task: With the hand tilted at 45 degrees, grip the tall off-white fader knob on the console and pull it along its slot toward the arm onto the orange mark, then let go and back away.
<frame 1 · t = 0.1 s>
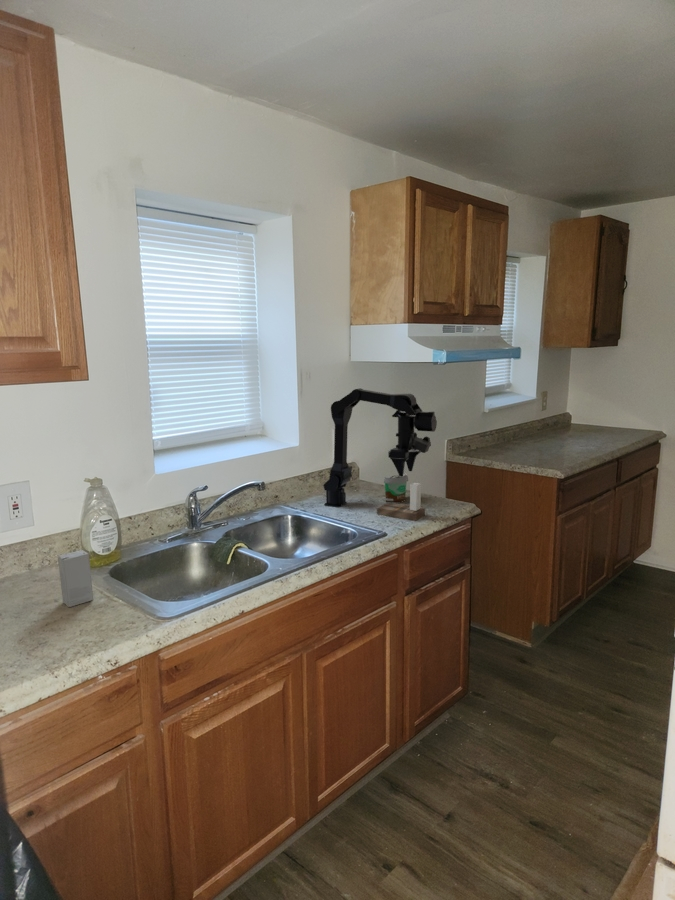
hand: (405, 473, 210), 15 cm above the counter, tool pointing down, fingers open, 9 cm apart
food container: (399, 501, 230), on the counter
fader: (415, 496, 207), point 7 cm above the counter, slide at 0.0 cm
console: (400, 514, 211), on the counter
skincare box: (78, 602, 143), on the counter
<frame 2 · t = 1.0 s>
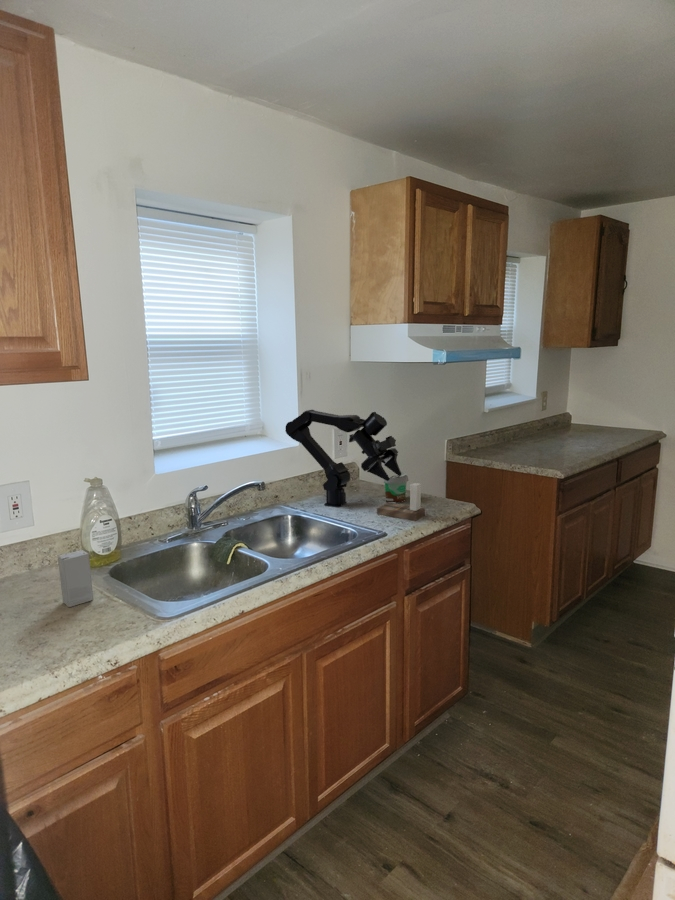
hand: (394, 477, 210), 13 cm above the counter, tool tilted 45°, fingers open, 9 cm apart
nothing on the counter moved.
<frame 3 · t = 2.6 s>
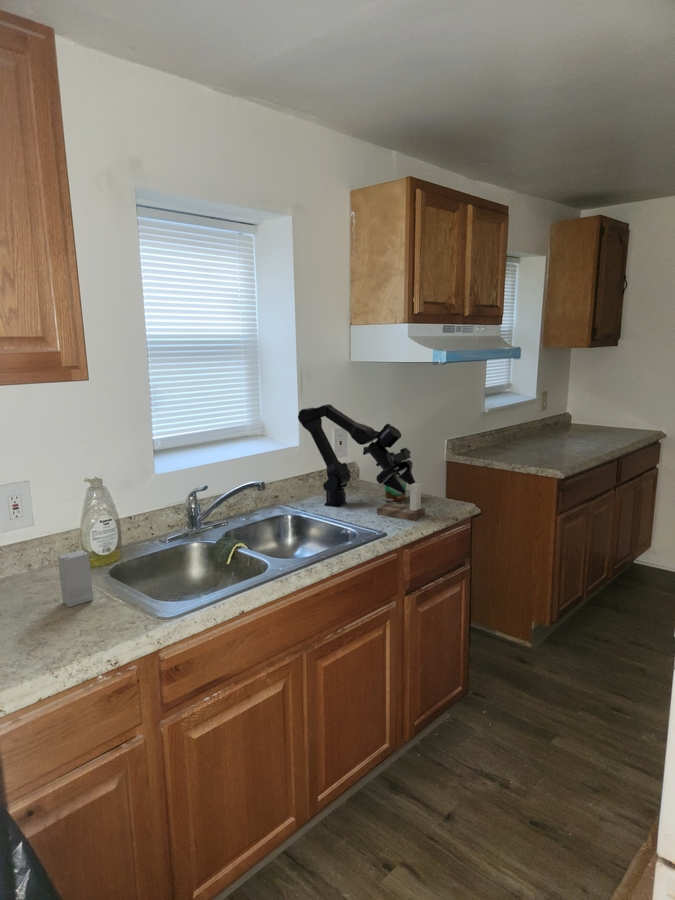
hand: (410, 489, 208), 10 cm above the counter, tool tilted 45°, fingers open, 9 cm apart
nothing on the counter moved.
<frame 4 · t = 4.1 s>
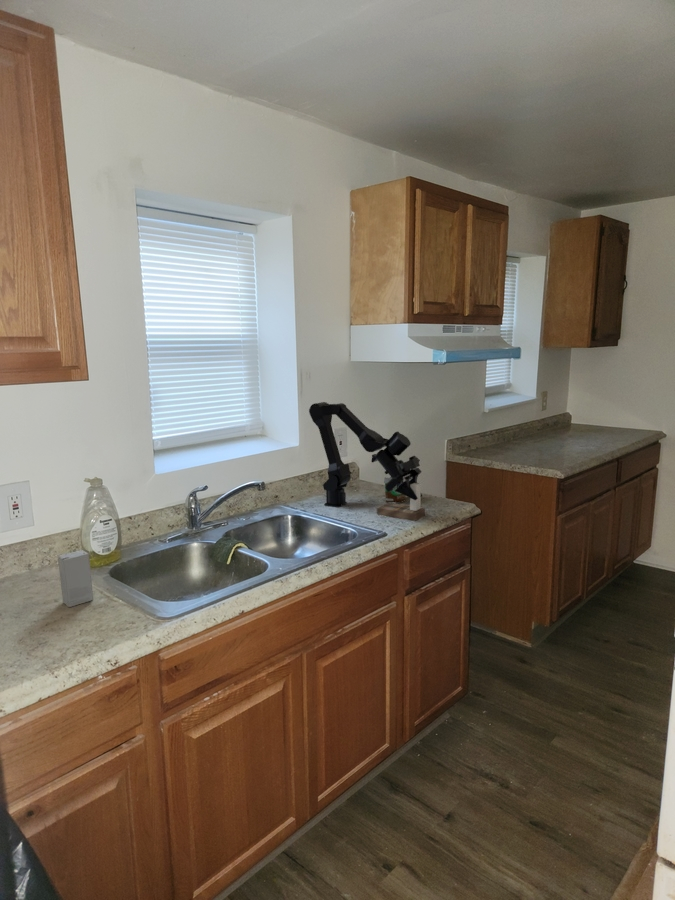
hand: (418, 498, 207), 7 cm above the counter, tool tilted 45°, fingers closed on fader, 3 cm apart
fader: (415, 496, 207), point 7 cm above the counter, slide at 0.0 cm, touching gripper
everything else where it was.
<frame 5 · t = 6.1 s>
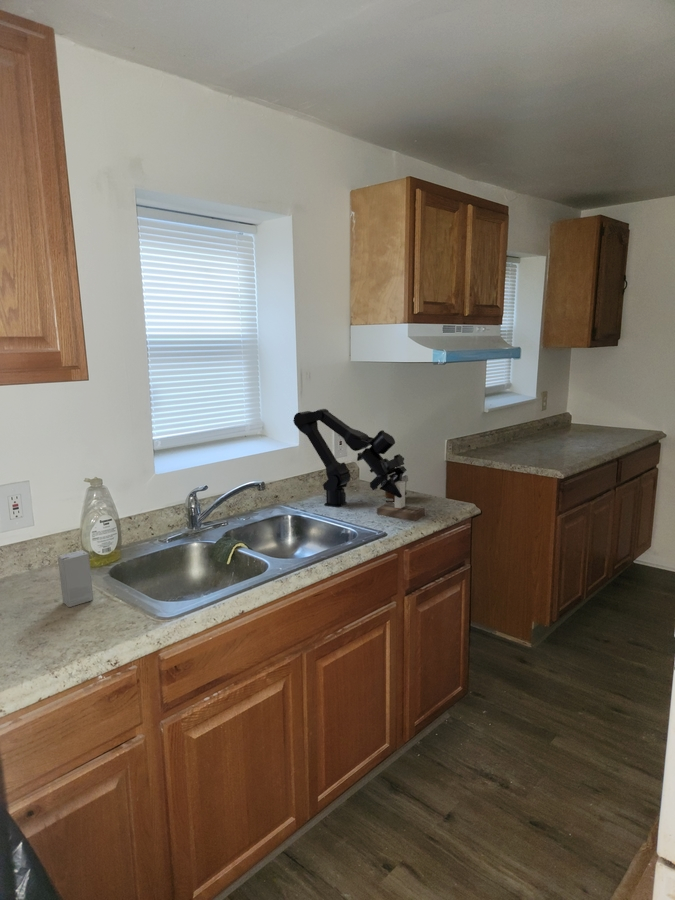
hand: (403, 496, 210), 7 cm above the counter, tool tilted 45°, fingers closed on fader, 3 cm apart
fader: (399, 494, 210), point 7 cm above the counter, slide at -5.9 cm, touching gripper
everything else where it was.
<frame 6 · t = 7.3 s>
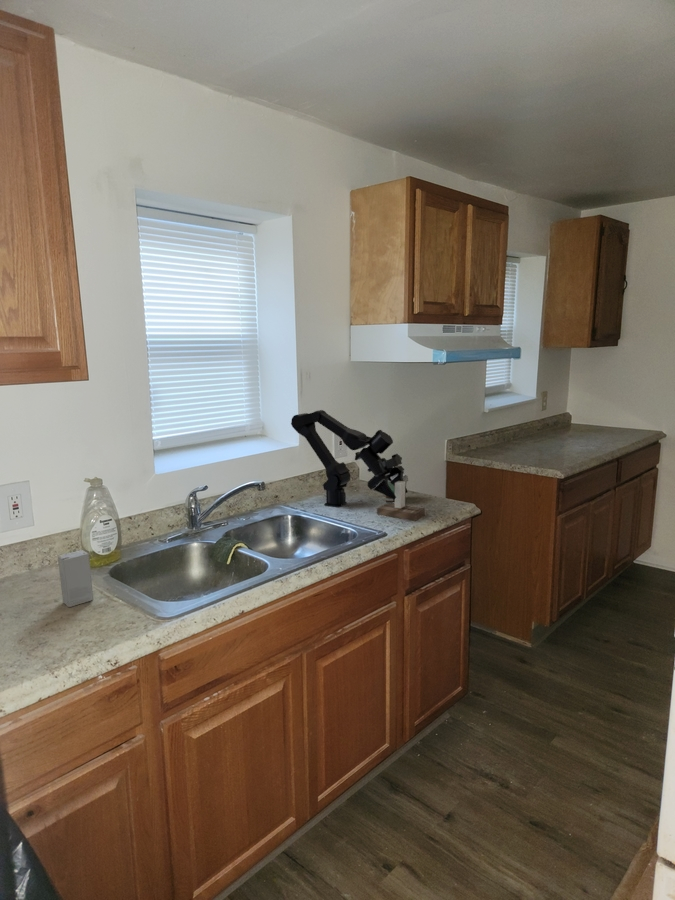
hand: (401, 495, 210), 7 cm above the counter, tool tilted 45°, fingers open, 9 cm apart
fader: (399, 494, 210), point 7 cm above the counter, slide at -6.0 cm
everything else where it was.
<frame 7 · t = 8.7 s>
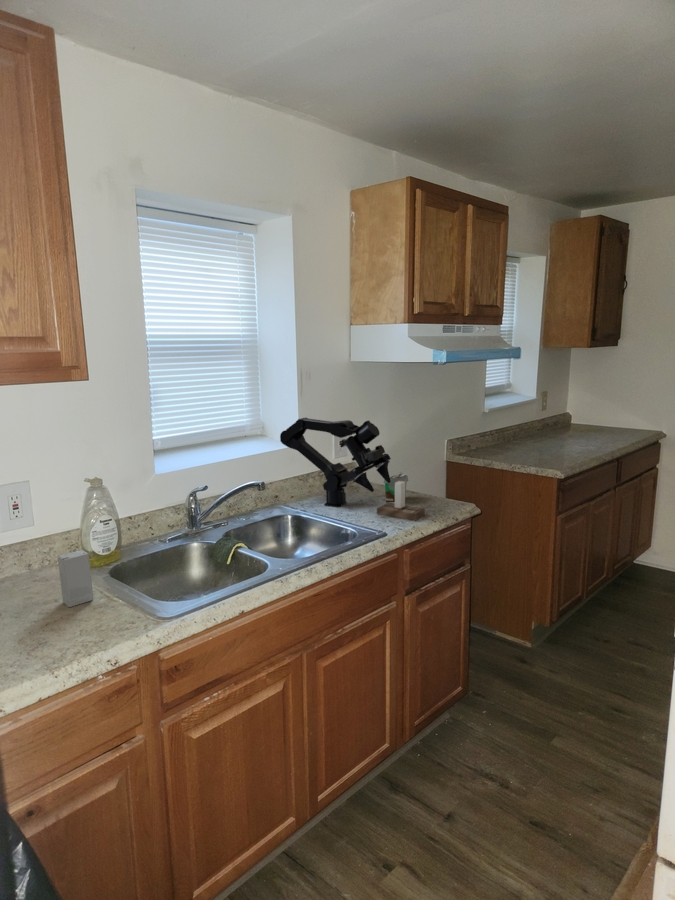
hand: (381, 487, 214), 9 cm above the counter, tool tilted 35°, fingers open, 9 cm apart
nothing on the counter moved.
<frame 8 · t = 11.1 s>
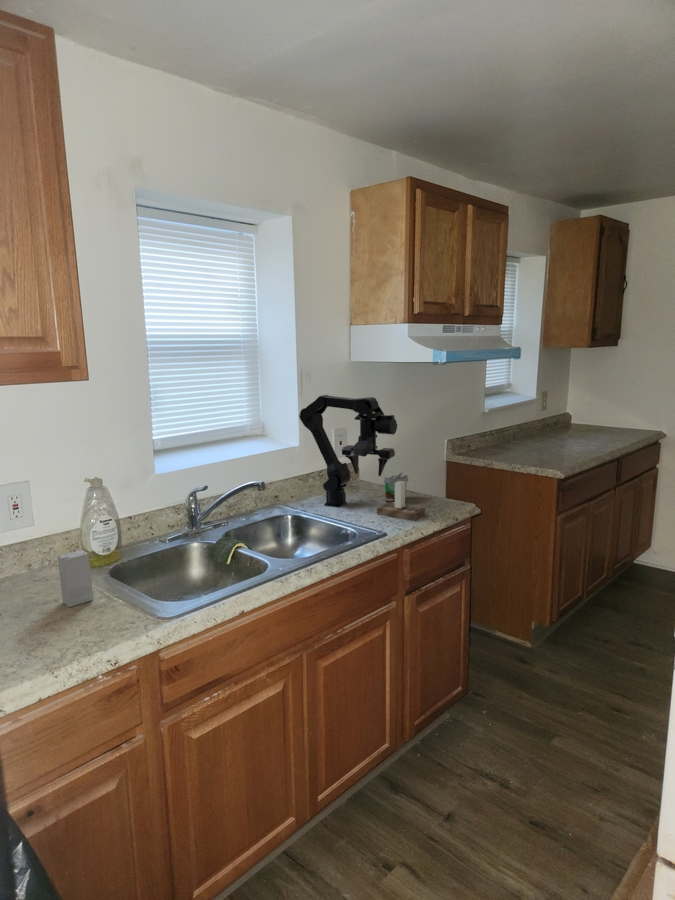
hand: (368, 474, 216), 13 cm above the counter, tool pointing down, fingers open, 9 cm apart
nothing on the counter moved.
at the end: fader slide at -6.0 cm; the gripper is holding nothing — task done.
